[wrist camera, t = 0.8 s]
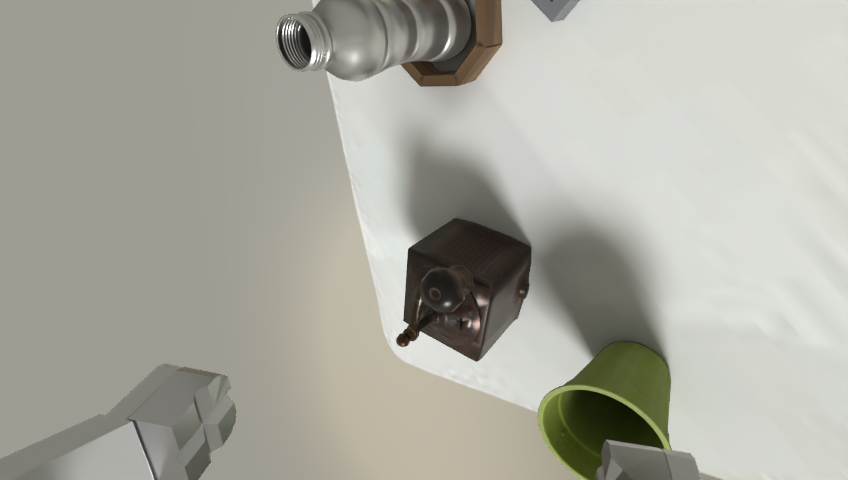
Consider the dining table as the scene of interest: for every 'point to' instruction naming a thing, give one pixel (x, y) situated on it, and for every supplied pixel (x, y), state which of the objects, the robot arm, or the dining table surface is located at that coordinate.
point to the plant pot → (608, 407)
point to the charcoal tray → (555, 8)
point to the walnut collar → (479, 56)
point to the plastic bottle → (372, 35)
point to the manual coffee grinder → (464, 287)
